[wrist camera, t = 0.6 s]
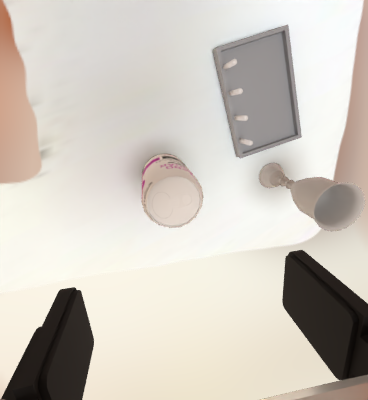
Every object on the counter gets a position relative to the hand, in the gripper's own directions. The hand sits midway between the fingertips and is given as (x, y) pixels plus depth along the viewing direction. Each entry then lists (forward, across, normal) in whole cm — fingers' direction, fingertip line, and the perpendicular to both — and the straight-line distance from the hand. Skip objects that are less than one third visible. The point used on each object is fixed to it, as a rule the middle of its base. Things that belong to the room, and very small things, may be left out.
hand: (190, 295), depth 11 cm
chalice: (+35, -23, +5) cm, 42 cm away
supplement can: (+35, -2, +3) cm, 35 cm away
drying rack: (+35, -19, -10) cm, 41 cm away
